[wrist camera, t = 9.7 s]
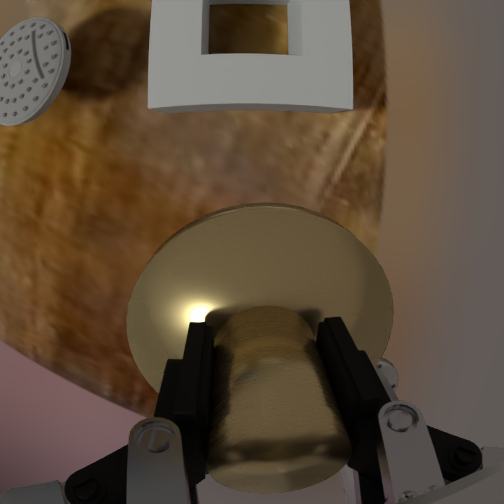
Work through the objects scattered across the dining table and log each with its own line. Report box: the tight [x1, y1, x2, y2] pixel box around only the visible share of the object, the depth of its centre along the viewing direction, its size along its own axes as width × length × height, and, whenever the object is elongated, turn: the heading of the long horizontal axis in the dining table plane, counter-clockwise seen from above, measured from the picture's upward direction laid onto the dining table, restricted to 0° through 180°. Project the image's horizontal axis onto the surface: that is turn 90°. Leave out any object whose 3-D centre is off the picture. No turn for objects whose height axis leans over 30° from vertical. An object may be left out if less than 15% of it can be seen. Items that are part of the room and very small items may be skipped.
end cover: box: [127, 202, 394, 494], centre depth 11 cm, size 10×10×10 cm
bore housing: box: [148, 0, 353, 113], centre depth 19 cm, size 14×14×6 cm
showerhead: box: [0, 17, 71, 126], centre depth 18 cm, size 9×7×10 cm
